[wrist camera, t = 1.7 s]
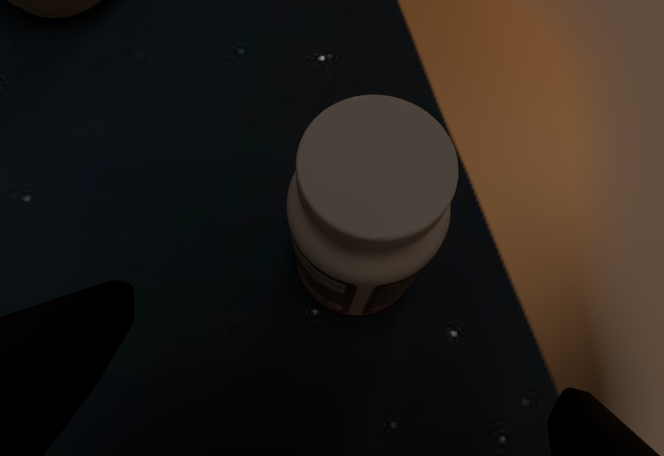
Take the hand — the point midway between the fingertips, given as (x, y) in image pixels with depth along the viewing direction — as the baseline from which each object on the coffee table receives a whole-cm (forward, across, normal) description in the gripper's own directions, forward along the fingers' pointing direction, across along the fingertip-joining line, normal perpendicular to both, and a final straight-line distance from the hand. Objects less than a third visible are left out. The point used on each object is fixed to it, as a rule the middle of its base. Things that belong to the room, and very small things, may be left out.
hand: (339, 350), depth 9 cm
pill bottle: (+12, 0, +5) cm, 13 cm away
